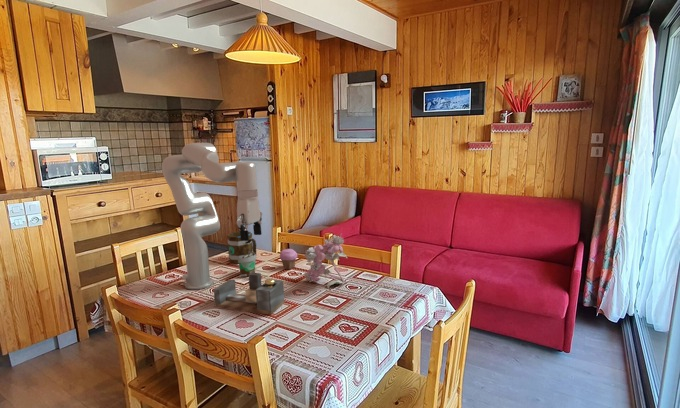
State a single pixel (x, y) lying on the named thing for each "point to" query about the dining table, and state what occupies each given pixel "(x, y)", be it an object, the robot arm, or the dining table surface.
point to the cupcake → (288, 258)
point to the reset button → (269, 282)
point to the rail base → (265, 296)
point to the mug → (239, 246)
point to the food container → (247, 264)
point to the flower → (317, 256)
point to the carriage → (253, 286)
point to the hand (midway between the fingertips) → (251, 237)
